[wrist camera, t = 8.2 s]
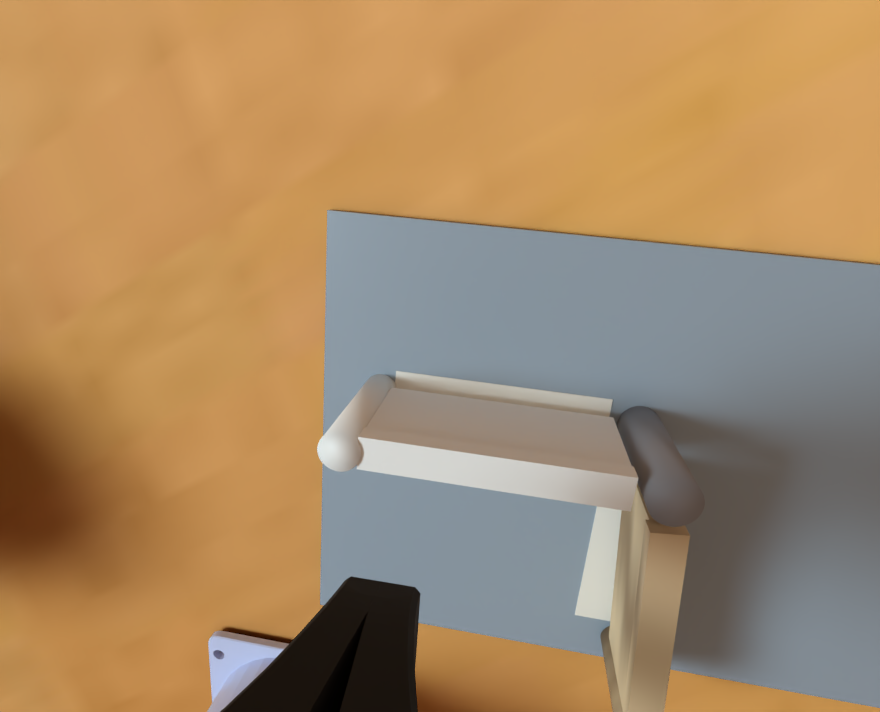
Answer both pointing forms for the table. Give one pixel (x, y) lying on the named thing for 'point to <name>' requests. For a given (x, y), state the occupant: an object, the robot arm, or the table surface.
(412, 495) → the mat
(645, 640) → the fence panel
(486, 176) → the table surface
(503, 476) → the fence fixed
